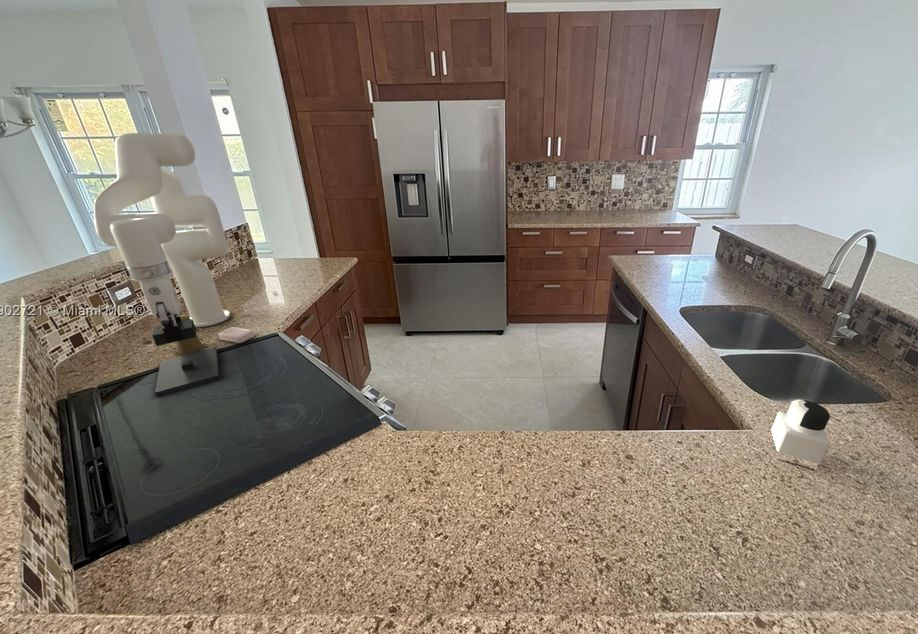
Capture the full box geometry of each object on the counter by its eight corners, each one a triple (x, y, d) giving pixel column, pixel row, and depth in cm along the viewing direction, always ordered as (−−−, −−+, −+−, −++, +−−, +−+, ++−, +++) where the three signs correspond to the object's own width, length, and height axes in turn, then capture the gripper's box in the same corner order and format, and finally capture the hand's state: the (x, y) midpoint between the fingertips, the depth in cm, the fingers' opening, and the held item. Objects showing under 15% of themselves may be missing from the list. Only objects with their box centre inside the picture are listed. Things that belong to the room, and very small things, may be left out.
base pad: (162, 364, 105) (158, 356, 104) (217, 351, 112) (214, 342, 111) (156, 396, 92) (152, 387, 91) (219, 378, 99) (216, 369, 98)
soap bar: (240, 344, 116) (238, 337, 115) (219, 340, 119) (216, 333, 118) (255, 336, 121) (253, 329, 120) (234, 332, 123) (232, 326, 122)
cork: (208, 344, 116) (196, 313, 111) (191, 354, 110) (178, 322, 106) (190, 343, 116) (177, 312, 112) (173, 353, 111) (159, 320, 106)
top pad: (158, 337, 98) (154, 327, 97) (196, 329, 102) (192, 319, 101) (156, 346, 93) (152, 335, 92) (196, 337, 98) (192, 327, 97)
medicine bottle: (807, 446, 78) (828, 401, 73) (817, 471, 72) (841, 423, 67) (767, 436, 81) (785, 391, 76) (773, 459, 75) (793, 412, 70)
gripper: (167, 277, 86) (194, 344, 93) (171, 260, 99) (194, 320, 106) (124, 283, 82) (155, 353, 89) (134, 265, 94) (160, 327, 102)
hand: (176, 335), depth 98 cm, fingers closed on top pad, 6 cm apart
